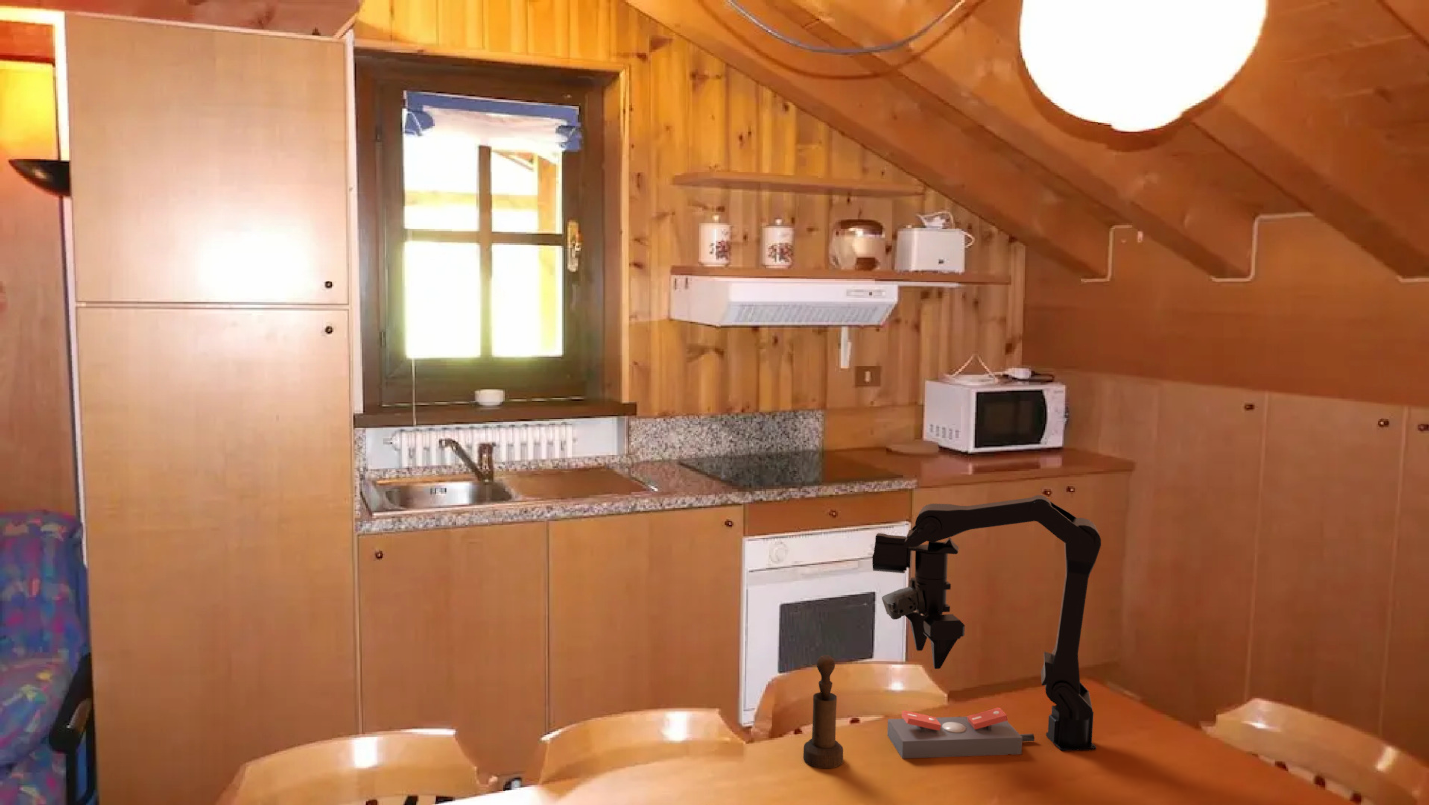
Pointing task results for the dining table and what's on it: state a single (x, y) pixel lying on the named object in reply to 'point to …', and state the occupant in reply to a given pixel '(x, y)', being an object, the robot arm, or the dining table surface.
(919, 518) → the robot arm
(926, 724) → the switch
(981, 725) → the switch
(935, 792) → the dining table surface
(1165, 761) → the dining table surface
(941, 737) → the switch panel
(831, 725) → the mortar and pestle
